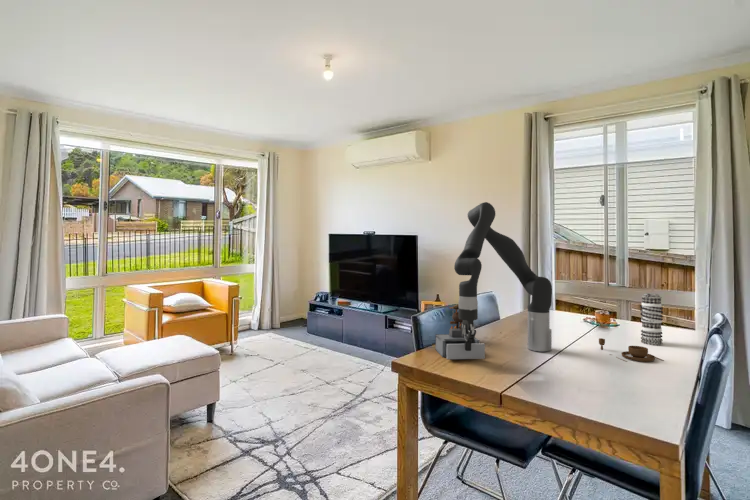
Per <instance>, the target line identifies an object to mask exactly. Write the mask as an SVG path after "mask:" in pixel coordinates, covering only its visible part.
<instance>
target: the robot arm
mask: <svg viewBox="0 0 750 500" xmlns="http://www.w3.org/2000/svg"><path fill="white" fill-rule="evenodd" d="M495 217H496V210H495V207H494V206H493V204H491V203H490V202H486V201H485V202H482V203H479V204H478V205H476V206H475V207H473V208H472V209H470V210H469V211H468V213H467V218H468V220H469V223H470V224H471V226H472V227H473V229H472V231H471V232H470V233H469V234H468V236H467V239H466V241H465V245H464V248H463V250H462V251H461V252H460V254H459V256H458V257H457V258H456V260H455V262H454V272H455V273H456V274H457V275H459V276H470V278H469V280H464V281H461V282H459V284H458V290H459V291H458V293H459V295H458V297H459V298H458V304H459V310H458V312H459V319H461V320H463V323H461V324H462V325H460V324H459V326H460V327H461V331H462V336H463V338H464V341H465V350H466V351H471V342H472V341H474V338H476V334H477V330H476V329H475V324H474V321H477V320H478V319H479V318H478V315H479V313H478V309H479V306H478V304H479V302H478V283H479V278H480V275H481V272H482V268H483V267H482V266H483V265H482V261H481V260H480V259H479V258H480V257H481V254H482V250H483V245H484V243H485V240H486V241H487V242H488V243H489V245H490V246H491V247H492V248H493V249H494V250H495V252H496V254H497V255H498V256H499V257H500V259H501V260H502V261H503V262H504V263H505V264H506V265H507V267H508V268H509V270H511V272H513V274H514V275H515V276H516V278H517V279H518V280H519V283H520V284H521V285H522V287H523V289H524V290H525V291H526V292H527V293H528V294H529V295H530V296H531V302H530V303H529V304H528V305H527V349H528V350H530V351H533V352H534V351H535V352H550V351H552V348H553V347H552V340H553V339H552V337H553V336H552V329H551V328H550V326H551V325H550V323H551V322H550V311H551V306H552V299H553V286H552V282H551V281H550V279H548V278H547V277H545V276H544V277H543V276H538V275H537V274H536V273H535V272H534V271H533V270H532V269H531V268H530V266H529V265H528V263H527V261H526V258H525V255H524V253H523V250H522V249H521V248H520V246H519V245H518V244H517V243H516V242H515V240H514V239H513V238H511V237H509V236H508V235H504V234H502V233H500V232H498V231H496V230H494V229H493V228H492V227H491V226H492V224H493V222H494V220H495Z"/></svg>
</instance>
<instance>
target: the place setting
mask: <svg viewBox="0 0 750 500" xmlns="http://www.w3.org/2000/svg"><path fill="white" fill-rule="evenodd" d="M605 343H606V339H605V338H598V344H599V346H600V350H601V351H603V350H604V346H605ZM629 355H630V356H629ZM610 356H613V354H611V353H610ZM621 356H622V357H623V358H625V359H627V360H630V361H635V362H638V363H651V362H654V361H655V360H656V359H658V360H660V361H665V360H664V359H661V358H658V357H657V356H655V355H653V354H650V353H649V349H648V347H645V346H640V345H628V349H627V350H626V351H622V352H621ZM615 358H617V359H619V360H621V361H623V362H626V363H627V362H628V361H627V360H625V359H622V358H620V357H617V356H616V357H615Z"/></svg>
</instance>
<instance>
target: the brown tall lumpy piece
mask: <svg viewBox="0 0 750 500" xmlns="http://www.w3.org/2000/svg"><path fill="white" fill-rule="evenodd" d="M448 309H451V310H452V309H453V310H455V312H452V315H451V317H452V320H450V321H449V324H450V325H451V326H450V329H460V330H461V327H460V325H462V323H463V320H461V319H459V303H457V304H455V305H453V306H451V307H448ZM453 325H454V327H453Z"/></svg>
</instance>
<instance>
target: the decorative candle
mask: <svg viewBox="0 0 750 500" xmlns="http://www.w3.org/2000/svg"><path fill="white" fill-rule="evenodd" d="M662 305H663V304H662V297H661V296H660V294H658V293H652V292H651V293H648V292H646V293H644V294H643V295H641V305H640V306H639V308H640V321H641V329H640V332H641V333H640V335H641V337H640V342H641V343H642V344H644V345H649V346H657V347H658V346H662V345H663V332H662V331H663V330H662V323H663V320H664V319H663V317H664V316H663V315H662V314H663V313H664V311H663V310H664V308H663V307H662Z"/></svg>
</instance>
